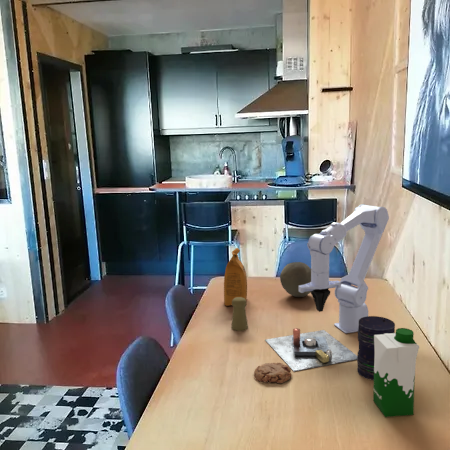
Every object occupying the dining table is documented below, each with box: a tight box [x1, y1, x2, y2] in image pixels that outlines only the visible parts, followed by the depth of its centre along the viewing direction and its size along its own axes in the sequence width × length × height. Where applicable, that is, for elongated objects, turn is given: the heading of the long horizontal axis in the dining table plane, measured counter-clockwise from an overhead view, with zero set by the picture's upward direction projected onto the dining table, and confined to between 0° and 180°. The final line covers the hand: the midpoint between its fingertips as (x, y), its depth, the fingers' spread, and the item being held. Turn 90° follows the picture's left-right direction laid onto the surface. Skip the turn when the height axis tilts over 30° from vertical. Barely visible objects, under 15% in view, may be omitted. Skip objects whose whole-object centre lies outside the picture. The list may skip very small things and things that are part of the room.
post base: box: [264, 329, 358, 373], centre depth 143 cm, size 22×22×3 cm
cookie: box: [253, 362, 293, 384], centre depth 128 cm, size 10×11×3 cm
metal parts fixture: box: [292, 327, 329, 363], centre depth 141 cm, size 15×11×6 cm
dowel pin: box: [326, 350, 332, 361], centre depth 136 cm, size 2×2×3 cm
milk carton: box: [372, 327, 420, 418], centre depth 110 cm, size 9×9×20 cm
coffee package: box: [223, 247, 248, 307], centre depth 185 cm, size 10×12×22 cm
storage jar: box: [356, 315, 396, 382], centre depth 127 cm, size 10×10×15 cm
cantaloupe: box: [279, 261, 311, 298], centre depth 189 cm, size 14×14×15 cm
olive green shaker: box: [231, 297, 249, 332], centre depth 161 cm, size 6×6×11 cm
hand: (319, 310), depth 149 cm, fingers closed
